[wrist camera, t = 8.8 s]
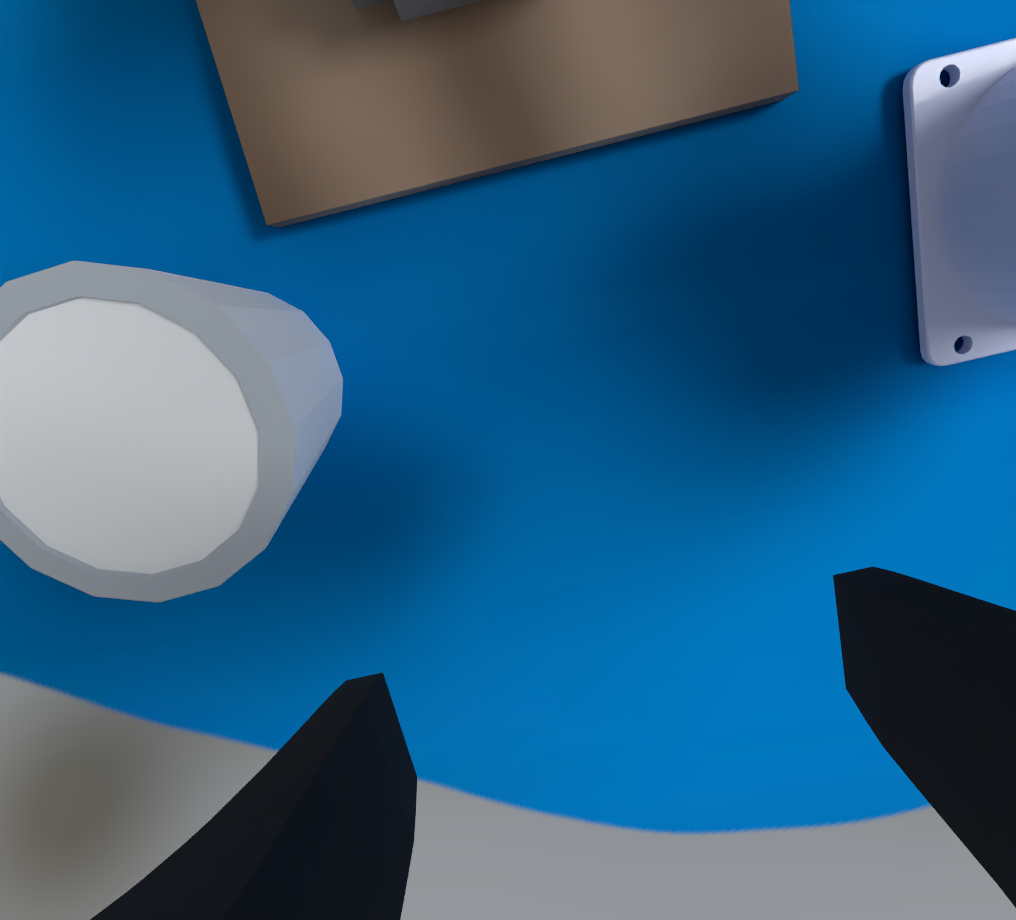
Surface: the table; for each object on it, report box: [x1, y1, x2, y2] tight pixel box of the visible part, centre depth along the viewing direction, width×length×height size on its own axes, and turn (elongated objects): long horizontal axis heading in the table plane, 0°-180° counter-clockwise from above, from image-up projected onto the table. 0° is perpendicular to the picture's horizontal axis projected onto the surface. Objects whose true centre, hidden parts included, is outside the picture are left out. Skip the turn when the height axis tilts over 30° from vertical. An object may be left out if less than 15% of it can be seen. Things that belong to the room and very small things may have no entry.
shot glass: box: [0, 261, 343, 602], centre depth 16 cm, size 7×7×7 cm
